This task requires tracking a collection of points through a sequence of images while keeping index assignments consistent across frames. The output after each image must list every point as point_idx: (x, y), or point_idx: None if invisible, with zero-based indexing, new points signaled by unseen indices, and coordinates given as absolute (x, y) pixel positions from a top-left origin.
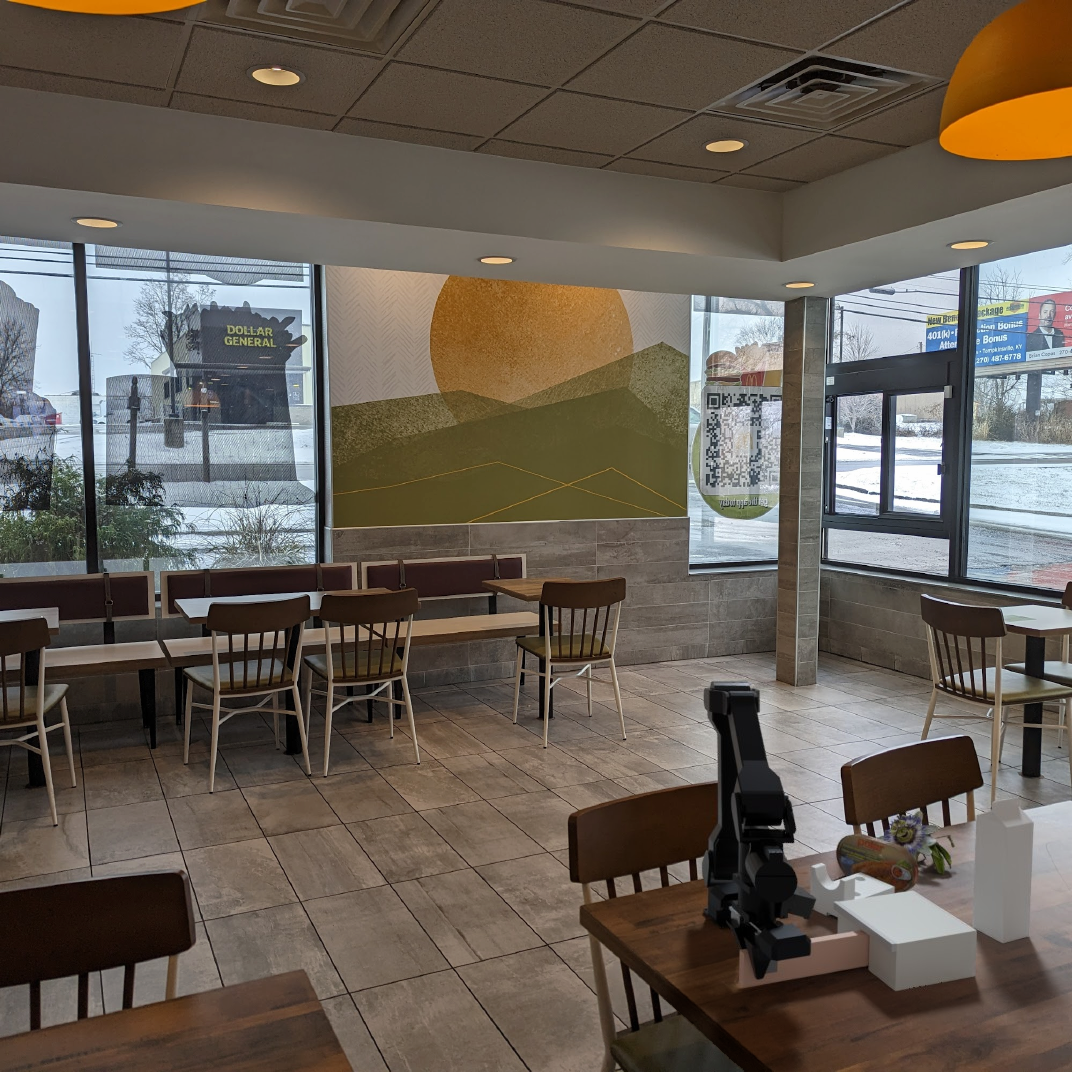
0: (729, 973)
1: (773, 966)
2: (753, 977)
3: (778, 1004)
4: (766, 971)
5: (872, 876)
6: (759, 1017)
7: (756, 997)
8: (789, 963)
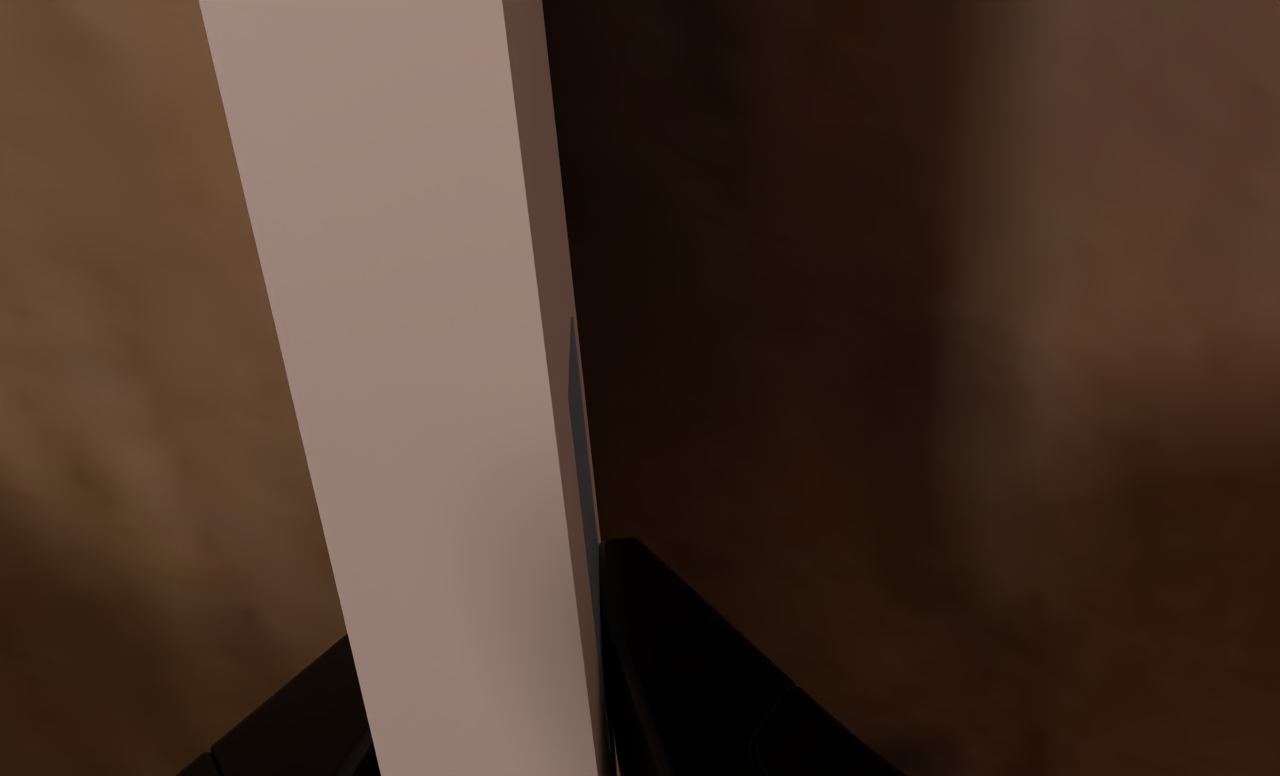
0: (230, 685)
1: (579, 422)
2: None
3: (959, 433)
4: (592, 512)
5: None
6: (1088, 695)
7: (762, 596)
8: (537, 75)
